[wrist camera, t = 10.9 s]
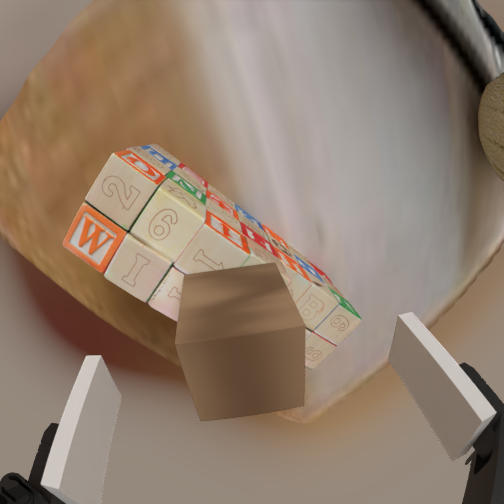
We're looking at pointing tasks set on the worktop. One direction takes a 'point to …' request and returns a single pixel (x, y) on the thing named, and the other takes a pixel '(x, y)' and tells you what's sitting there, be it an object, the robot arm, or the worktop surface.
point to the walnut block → (241, 342)
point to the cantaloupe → (493, 124)
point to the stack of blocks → (192, 242)
